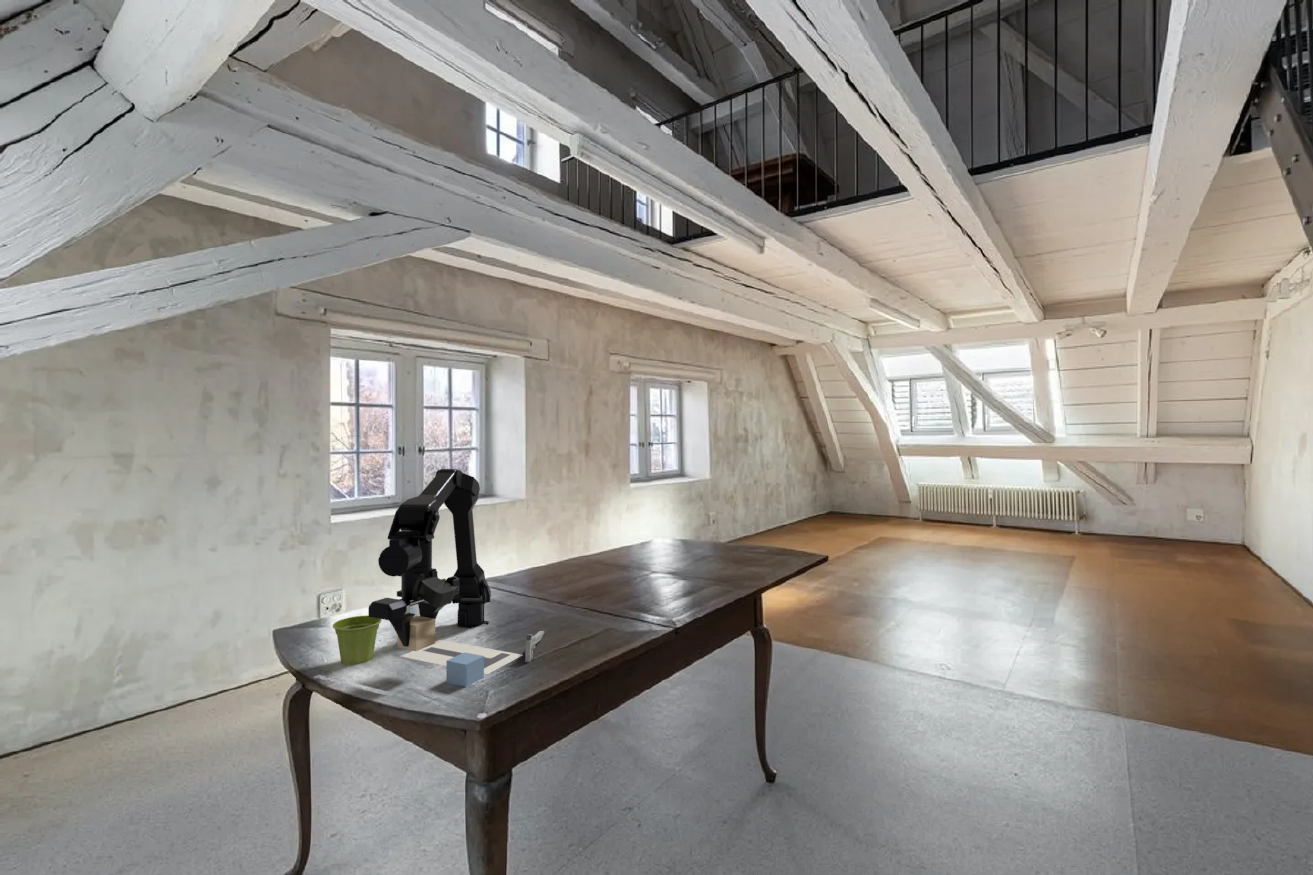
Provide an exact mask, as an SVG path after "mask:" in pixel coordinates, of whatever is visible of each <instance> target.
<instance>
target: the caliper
mask: <svg viewBox="0 0 1313 875" xmlns="http://www.w3.org/2000/svg"><path fill="white" fill-rule="evenodd" d="M544 633H545V630H539V631H538V632H537V633H536V634H534V635H533V633H527V634H526V640H525V658H524V659H525V663H530V662H531V661H532V659H533V652H534V650H535V649H536V645H537V644H538V643H539V642H540V641H541V640H542V637H543V635H544Z"/></svg>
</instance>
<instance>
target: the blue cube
mask: <svg viewBox="0 0 1313 875" xmlns="http://www.w3.org/2000/svg"><path fill="white" fill-rule="evenodd" d="M445 667H446V674H445V675H446V677H445V678H446V679H445V680H446V681H445V683H446V684H451V685H455V686H460V687H464V688H467V687H469V686H471V685H473V684H475V683H477V682H478V681H480V680H482V679H484V678H485V674H484V656H481V655H476V654H470V653H465V652H464V653H462V654H460V655H458V656H455V657H453V658H451V659H449V660H447V665H446V666H445Z"/></svg>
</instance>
